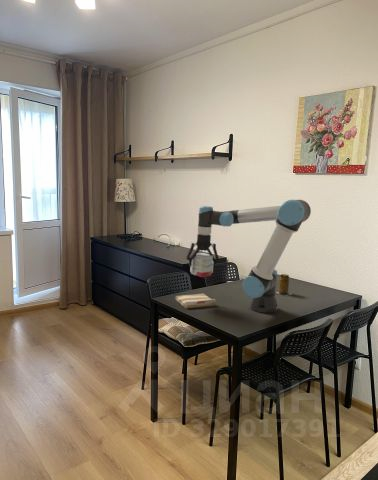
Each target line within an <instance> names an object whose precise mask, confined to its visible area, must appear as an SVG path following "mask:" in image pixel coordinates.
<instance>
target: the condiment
mask: <svg viewBox="0 0 378 480" xmlns="http://www.w3.org/2000/svg"><path fill="white" fill-rule="evenodd" d="M279 277H280V278H278V279H279V280H278V291H276V293H275V294H278V295H283V296H286V297H287V296H292V295H293V293H291V292H289V287H290V279H289V277H290V276H289V275H288V274H286V273H283V274H280V276H279Z"/></svg>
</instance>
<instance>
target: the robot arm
mask: <svg viewBox="0 0 378 480" xmlns="http://www.w3.org/2000/svg"><path fill="white" fill-rule="evenodd" d="M311 212H312V209H311V206H310V204H309V203H308V201H307V202H306V200H303V199H289V200H287V201H285V202H284V201H283V202H282V203H281V204H280V205H273V206H266V207H256V208H255V207H254V208H246V209H244V208H243V209H234V210H229V211H228V210H225V211H219V210H218V211H217V210H214V207H213V206H208V205H200V207H199V210H198V225H197V234H196V235H197V236H196V242H191V243H190V248H189V250H188V252H187V254H186V257H185V259H186V260H187V261H188V266H189V267H190V269H189V270H190V271H189V272H190V273H191V272H192V271H193V258H194V257H195V256H196V254H199V252H200V251H202V252H203V251H207V253H208V255H211V256H213V261H212V274H213V273H214V268H215V266H216V262H217V261H219V260H220V259H219V255H218V252H217V247H216V246H217V244H215V242H212V243H211V241H212V239H211V238H212V235H211V234H212V225H213V226H222V227H231V226H232V225H235V224H245V223H248V224H249V223H261V222H269V221H270V222H272V221H275V224H276V226H275V228H274V230H273V232H272V235H271V236H270V238H269V240H268V242H267V244H266V246H265V248H264V250H263V252H262V254H261V257H260V258H259V260H258V262H257V264H256V266H253V267H252V268H251V270H250V272H249V273H248V276H246V277H244V279H243V280H242V284H241V288H242V291H243V292H244V294H245V295H246V296H247V297H249V298H251V300H250V302H249V308H250V309H251V310H252V311H255V312H258V313H264V314H273V313H276V312H278V306H279V305H278V302H277V298H276V294H277V293H276V292H277V281H278V271H277V269H275V268H276V266H277V264H278V263H279V261H280V258H281V256H282V254H283V253H284V251H285V250H286V247H287V245H288V243H289V241H290V239H291V237H292V236H293V234H294V233H297V232H298V231H299V230H300V227H301V226H302V223H304V222H306V221H307V220H308V219H309V218H310V216H311V214H312V213H311ZM195 247H196V248H195ZM210 247H211V248H212V250H213V253H212V252H211V249H210ZM194 248H195V250H194ZM193 251H194V252H193ZM213 254H214V255H213Z"/></svg>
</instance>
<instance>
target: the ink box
mask: <svg viewBox="0 0 378 480" xmlns="http://www.w3.org/2000/svg"><path fill="white" fill-rule="evenodd" d="M213 256H214V255H213ZM213 256H211V255H210V254H209V253H208V254H207V253H205V252H203V253H202V252H201V253H199V252H198V253H197V254H196V256H195V257H194V258H193V271H192V272H190V274H191V275H193V276H197V277H200V278H205V277H209V276H210V277H211V276H212V274H213V273H212V261H213Z"/></svg>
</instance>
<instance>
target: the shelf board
mask: <svg viewBox="0 0 378 480" xmlns="http://www.w3.org/2000/svg"><path fill="white" fill-rule="evenodd" d="M174 299H175V301H177V302H178V303H179V304H181V306H182V307H184V308H185V309H193V308H202V307H203V308H204V307H211V306H212V307H214V306H216V302H217V301H216V298H213V299H212V298H211V297H209V296H207V295H206V294H205V293H196V294H182V295H175V298H174Z"/></svg>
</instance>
